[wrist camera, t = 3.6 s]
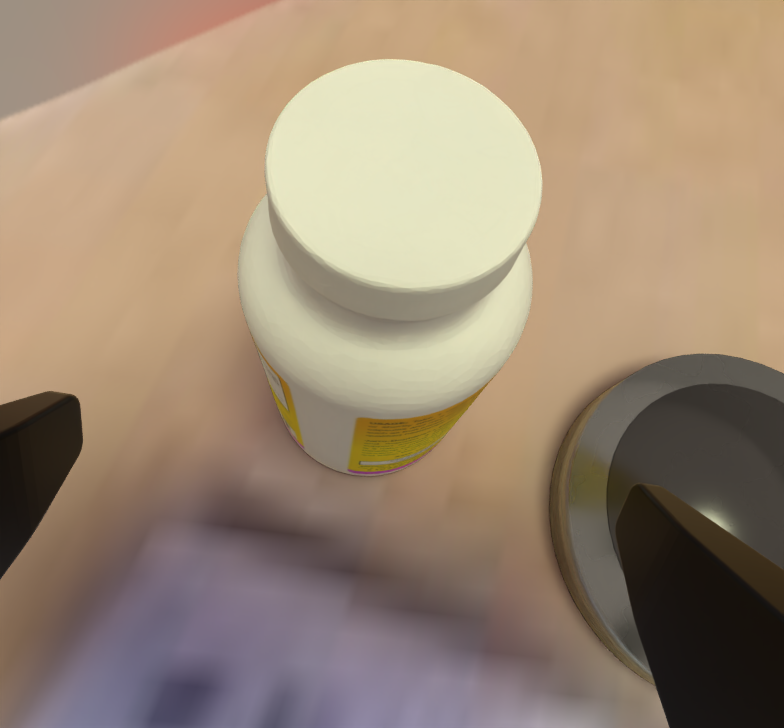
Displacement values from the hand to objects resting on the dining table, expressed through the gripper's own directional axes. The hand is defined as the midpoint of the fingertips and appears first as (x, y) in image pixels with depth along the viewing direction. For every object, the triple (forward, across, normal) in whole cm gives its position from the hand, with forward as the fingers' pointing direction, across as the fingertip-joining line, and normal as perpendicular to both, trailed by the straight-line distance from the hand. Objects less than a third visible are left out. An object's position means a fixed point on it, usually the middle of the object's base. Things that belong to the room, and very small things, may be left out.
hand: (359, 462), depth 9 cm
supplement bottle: (+11, 0, +5) cm, 12 cm away
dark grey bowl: (+9, -13, +7) cm, 18 cm away
